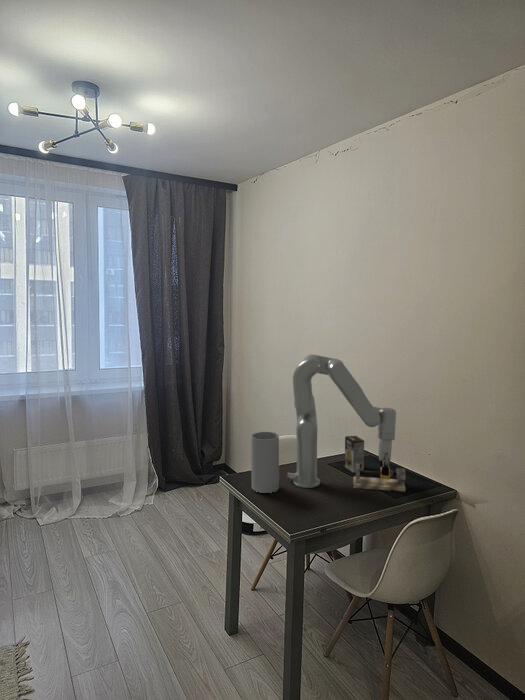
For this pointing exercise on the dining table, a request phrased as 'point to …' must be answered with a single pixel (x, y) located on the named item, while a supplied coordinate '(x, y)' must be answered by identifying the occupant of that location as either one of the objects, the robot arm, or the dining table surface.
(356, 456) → the coffee box
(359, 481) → the cord rig
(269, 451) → the cylinder vase
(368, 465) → the dining table surface
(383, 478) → the sleeve
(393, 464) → the dining table surface
